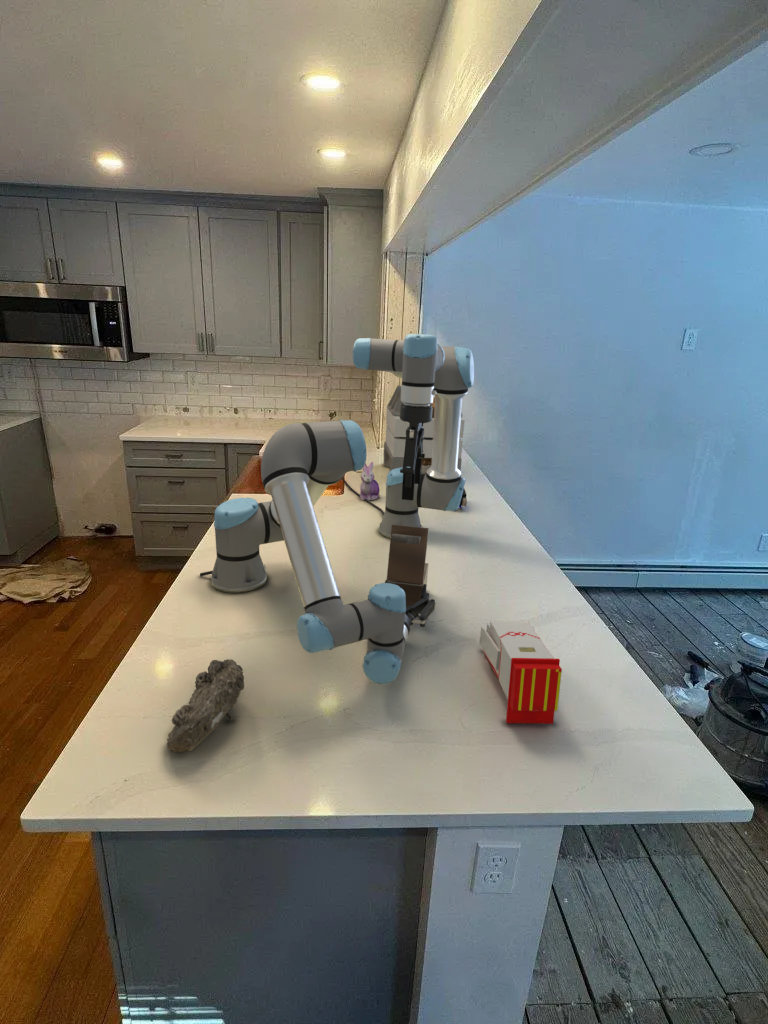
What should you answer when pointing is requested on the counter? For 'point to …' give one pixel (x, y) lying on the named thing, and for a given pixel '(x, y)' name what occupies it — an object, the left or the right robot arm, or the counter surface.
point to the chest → (412, 589)
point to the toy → (523, 670)
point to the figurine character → (463, 500)
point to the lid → (407, 554)
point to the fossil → (206, 705)
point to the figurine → (369, 484)
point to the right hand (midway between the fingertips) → (411, 491)
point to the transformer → (397, 435)
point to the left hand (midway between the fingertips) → (405, 586)
